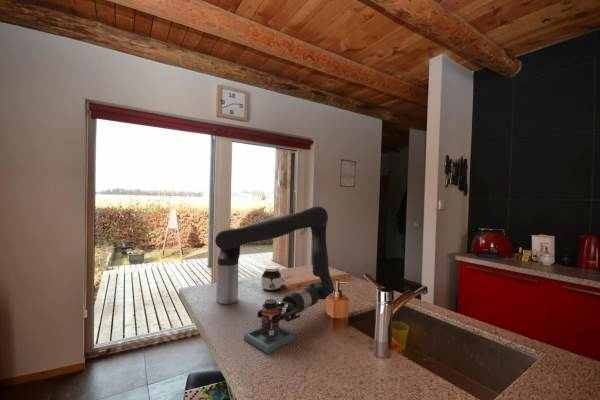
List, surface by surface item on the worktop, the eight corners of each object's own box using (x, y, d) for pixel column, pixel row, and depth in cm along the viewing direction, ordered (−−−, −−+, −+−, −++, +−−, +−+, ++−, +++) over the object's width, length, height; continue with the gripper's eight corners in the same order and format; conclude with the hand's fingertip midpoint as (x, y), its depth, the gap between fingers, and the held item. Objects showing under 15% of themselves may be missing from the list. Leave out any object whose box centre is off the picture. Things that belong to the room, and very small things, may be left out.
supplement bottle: (276, 339, 89) (276, 305, 89) (258, 337, 90) (259, 303, 90) (281, 330, 95) (281, 298, 95) (264, 329, 96) (264, 297, 96)
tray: (244, 340, 92) (244, 333, 92) (271, 328, 101) (271, 322, 101) (267, 354, 84) (267, 347, 84) (294, 340, 93) (294, 333, 93)
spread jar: (260, 291, 140) (260, 268, 140) (266, 284, 151) (266, 263, 151) (282, 292, 138) (283, 269, 138) (287, 285, 149) (288, 264, 149)
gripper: (283, 288, 108) (250, 300, 95) (312, 297, 99) (281, 312, 86) (283, 307, 108) (250, 322, 95) (312, 317, 99) (280, 336, 86)
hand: (265, 317), depth 90 cm, fingers closed on supplement bottle, 6 cm apart
